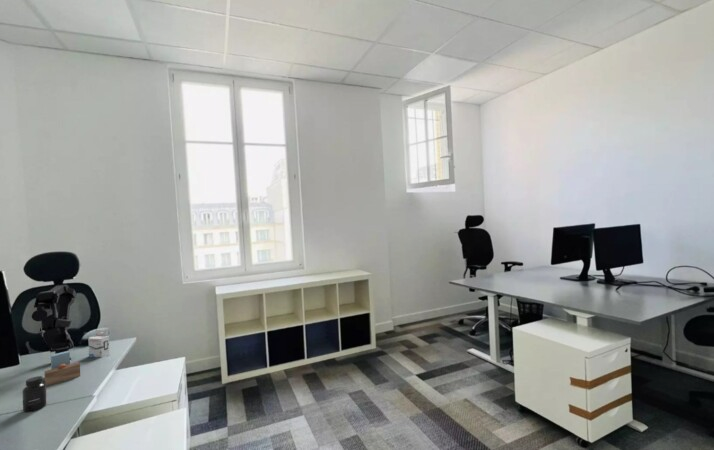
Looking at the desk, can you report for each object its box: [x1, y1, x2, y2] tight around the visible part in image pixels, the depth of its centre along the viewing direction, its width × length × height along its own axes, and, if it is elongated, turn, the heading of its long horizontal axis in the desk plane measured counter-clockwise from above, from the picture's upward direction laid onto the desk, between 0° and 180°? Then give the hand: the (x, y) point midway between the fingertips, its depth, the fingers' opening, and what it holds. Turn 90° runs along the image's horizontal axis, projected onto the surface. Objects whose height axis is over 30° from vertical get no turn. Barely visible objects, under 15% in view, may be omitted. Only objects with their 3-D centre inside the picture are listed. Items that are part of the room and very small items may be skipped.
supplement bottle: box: [22, 375, 47, 413], centre depth 130 cm, size 7×7×12 cm
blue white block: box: [50, 350, 71, 369], centre depth 156 cm, size 4×6×11 cm, turn 140°
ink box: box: [87, 329, 111, 358], centre depth 180 cm, size 8×5×15 cm, turn 84°
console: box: [43, 361, 81, 387], centre depth 155 cm, size 13×12×8 cm
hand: (50, 346), depth 163 cm, fingers closed
